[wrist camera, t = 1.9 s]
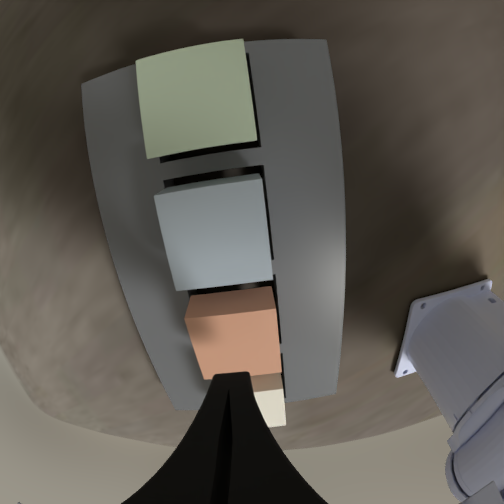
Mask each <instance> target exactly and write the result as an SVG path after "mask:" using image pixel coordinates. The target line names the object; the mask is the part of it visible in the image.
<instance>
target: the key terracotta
mask: <svg viewBox="0 0 504 504" xmlns="http://www.w3.org/2000/svg"><path fill="white" fill-rule="evenodd" d="M184 320H185V323H186V326H187V329H188V333H189V336H190V339H191V342H192V345H193V348H194V351H195V354H196V357H197V360H198V363H199V366H200V369H201V372H202V374H203V377H204V380H205V379H212V378H213V376H214V375H215V374H220V373H232V372H243V371H247V372H249V373H250V376H254V375H263V374H271V373H279V372H282V369H281V357H280V346H279V335H278V324H277V314H276V306H275V301H274V296H273V291H272V287H271V286H268V287H260V288H252V289H244V290H236V291H227V292H219V293H210V294H201V295H192V296H191V297H190V300H189V304H188V307H187V311H186V314H185V318H184Z"/></svg>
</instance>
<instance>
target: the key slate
mask: <svg viewBox="0 0 504 504" xmlns="http://www.w3.org/2000/svg"><path fill="white" fill-rule="evenodd" d="M154 200H155V205H156V209H157V214H158V219H159V224H160V228H161V232H162V237H163V241H164V245H165V250H166V254H167V258H168V262H169V266H170V270H171V273H172V277H173V281H174V285H175V288H176V291H182V290H191V289H201V288H209V287H218V286H226V285H235V284H243V283H251V282H259V281H266V280H273V273H272V264H271V254H270V245H269V236H268V227H267V218H266V209H265V200H264V192H263V183H262V178H261V177H260V175H259V173H258V174H249V175H242V176H234V177H227V178H220V179H214V180H207V181H201V182H195V183H189V184H183V185H178V186H172V187H167V188H165V189H164V190H162V191H161V192H159V193H157V194H156V195H154Z"/></svg>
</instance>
